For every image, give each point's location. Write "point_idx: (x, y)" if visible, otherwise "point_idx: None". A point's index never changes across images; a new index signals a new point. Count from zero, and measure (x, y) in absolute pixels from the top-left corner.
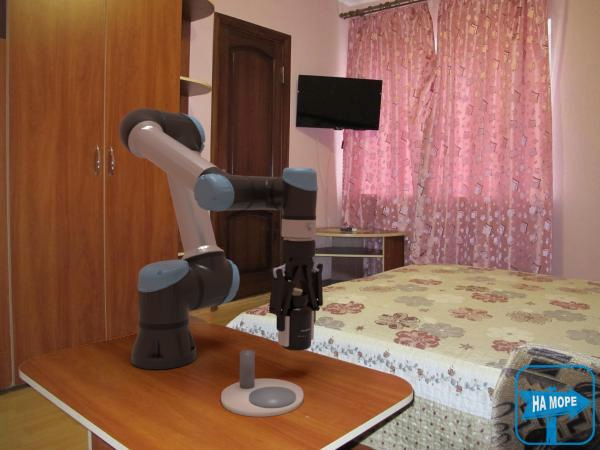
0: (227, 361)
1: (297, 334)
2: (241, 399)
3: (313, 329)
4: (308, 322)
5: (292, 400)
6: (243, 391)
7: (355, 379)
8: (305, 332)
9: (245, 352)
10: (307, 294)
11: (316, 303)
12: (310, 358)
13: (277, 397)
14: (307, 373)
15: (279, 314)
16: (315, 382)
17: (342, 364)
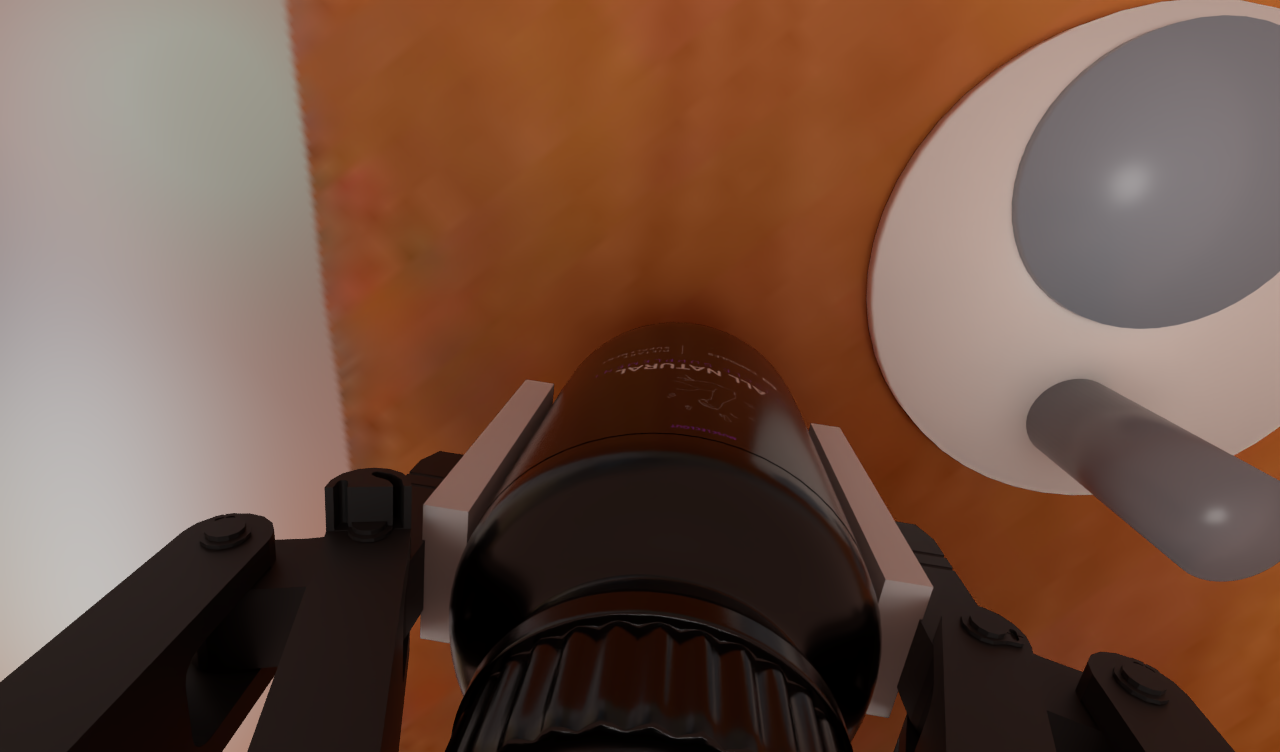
0: None
1: (787, 405)
2: (1269, 314)
3: (505, 411)
4: (672, 392)
5: (1194, 20)
6: (1154, 383)
7: (505, 10)
8: (714, 365)
9: (1247, 537)
10: (541, 733)
11: (320, 564)
12: (427, 450)
13: (1192, 137)
14: (628, 318)
15: (1096, 654)
16: (716, 189)
17: (360, 245)
